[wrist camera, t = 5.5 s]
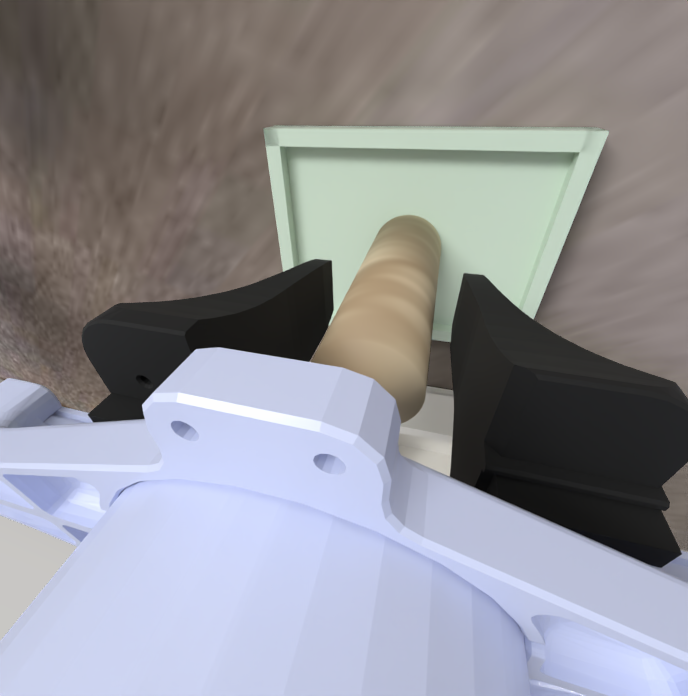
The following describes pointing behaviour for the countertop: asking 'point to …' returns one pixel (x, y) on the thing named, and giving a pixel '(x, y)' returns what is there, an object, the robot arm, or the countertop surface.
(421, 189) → the tray
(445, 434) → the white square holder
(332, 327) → the dowel
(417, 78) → the countertop surface
